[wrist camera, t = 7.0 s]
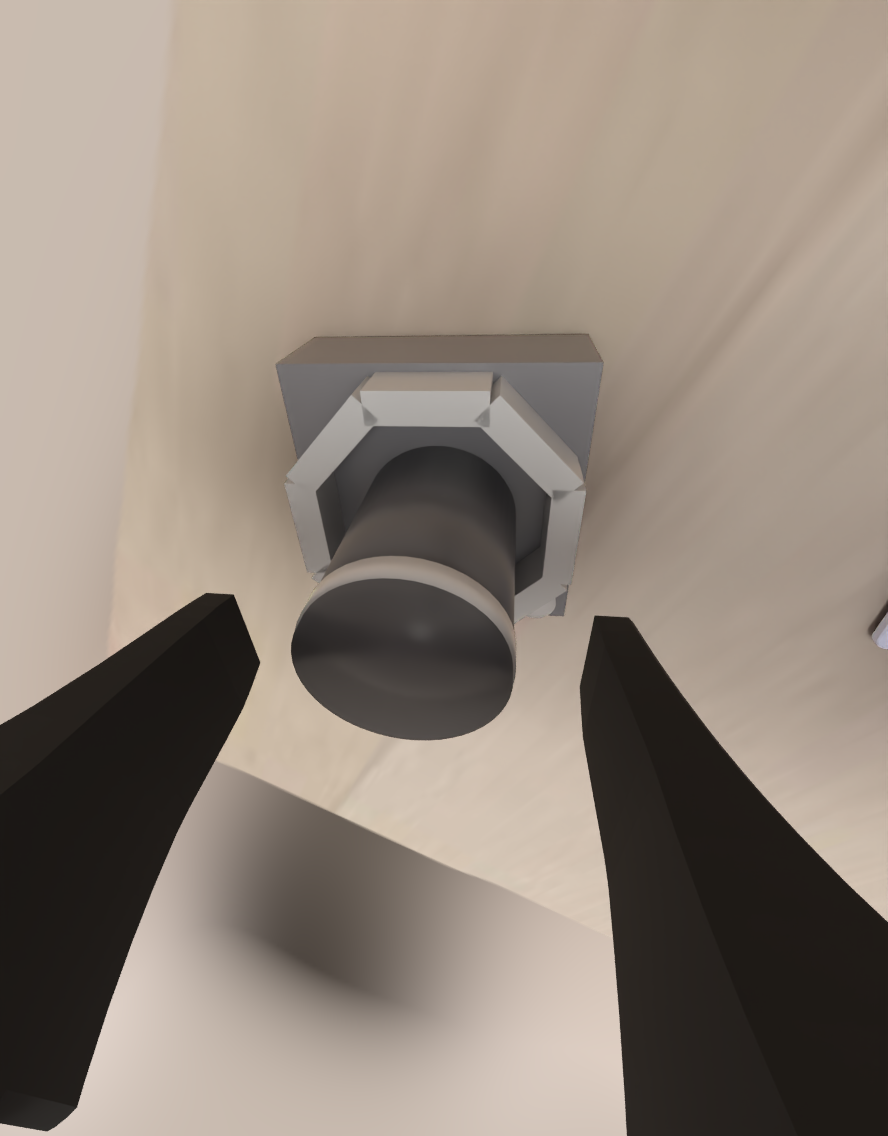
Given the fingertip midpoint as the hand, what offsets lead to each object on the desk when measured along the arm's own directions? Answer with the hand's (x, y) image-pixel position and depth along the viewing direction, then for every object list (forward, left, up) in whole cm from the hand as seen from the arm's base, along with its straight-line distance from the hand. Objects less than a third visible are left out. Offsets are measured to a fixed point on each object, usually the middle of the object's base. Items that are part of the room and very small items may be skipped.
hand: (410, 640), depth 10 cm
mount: (0, 0, -8) cm, 8 cm away
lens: (0, 0, -5) cm, 5 cm away
